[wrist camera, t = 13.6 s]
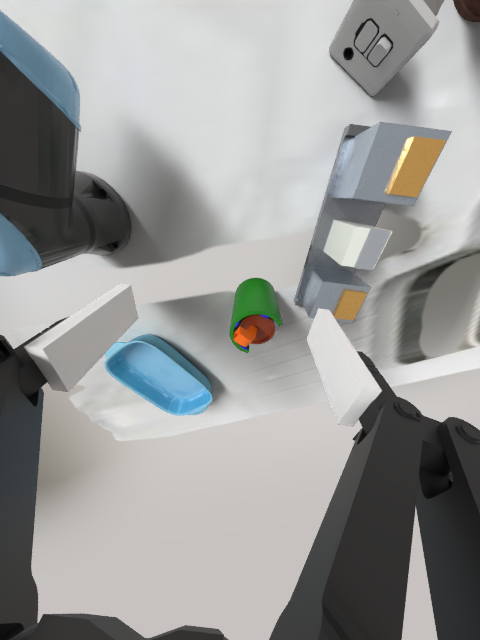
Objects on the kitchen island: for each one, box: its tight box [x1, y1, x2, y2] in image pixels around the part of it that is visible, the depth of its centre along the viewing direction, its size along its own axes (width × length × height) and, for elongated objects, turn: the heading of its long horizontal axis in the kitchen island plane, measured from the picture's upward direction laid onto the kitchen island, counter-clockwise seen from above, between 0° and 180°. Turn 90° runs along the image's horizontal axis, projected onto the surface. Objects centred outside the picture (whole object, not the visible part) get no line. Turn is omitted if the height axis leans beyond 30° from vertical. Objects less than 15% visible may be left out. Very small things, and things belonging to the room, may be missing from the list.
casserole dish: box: [104, 335, 213, 416], centre depth 63 cm, size 37×22×7 cm, turn 38°
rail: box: [294, 122, 452, 323], centre depth 36 cm, size 11×32×11 cm, turn 174°
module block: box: [323, 220, 392, 270], centre depth 35 cm, size 6×6×11 cm
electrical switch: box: [329, 0, 444, 96], centre depth 23 cm, size 9×5×9 cm, turn 60°
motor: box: [230, 278, 282, 353], centre depth 41 cm, size 10×9×20 cm
